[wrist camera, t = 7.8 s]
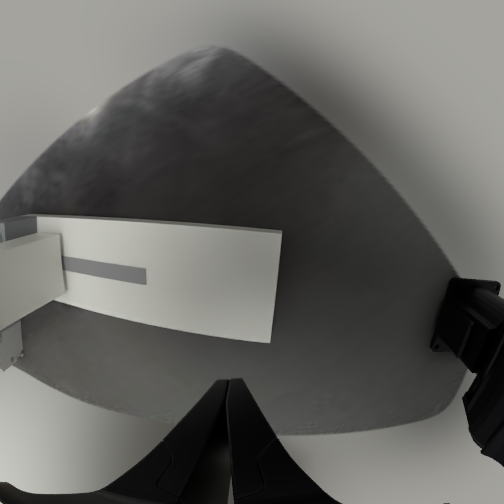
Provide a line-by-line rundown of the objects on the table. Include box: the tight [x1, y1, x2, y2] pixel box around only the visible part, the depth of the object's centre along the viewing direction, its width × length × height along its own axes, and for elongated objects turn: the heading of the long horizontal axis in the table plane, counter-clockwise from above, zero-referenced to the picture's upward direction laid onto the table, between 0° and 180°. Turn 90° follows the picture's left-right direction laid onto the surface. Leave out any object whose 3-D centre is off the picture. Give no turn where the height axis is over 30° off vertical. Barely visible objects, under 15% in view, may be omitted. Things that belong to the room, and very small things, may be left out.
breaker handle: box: [0, 233, 65, 330], centre depth 15 cm, size 3×5×9 cm, turn 176°
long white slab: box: [0, 214, 282, 343], centre depth 17 cm, size 24×8×6 cm, turn 86°
